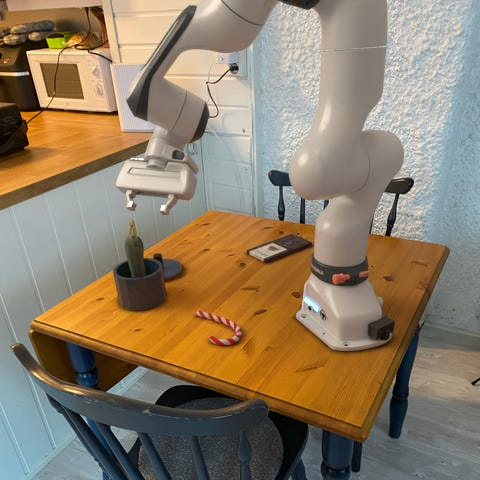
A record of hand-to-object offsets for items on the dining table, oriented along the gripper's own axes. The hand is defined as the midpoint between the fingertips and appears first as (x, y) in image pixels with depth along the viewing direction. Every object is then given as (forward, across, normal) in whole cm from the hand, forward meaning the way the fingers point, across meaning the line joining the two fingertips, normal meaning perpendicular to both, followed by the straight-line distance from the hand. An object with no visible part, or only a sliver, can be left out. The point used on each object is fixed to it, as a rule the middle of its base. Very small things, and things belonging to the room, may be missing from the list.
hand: (146, 211), depth 111 cm
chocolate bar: (-8, +23, +37) cm, 44 cm away
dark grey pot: (+19, 0, +9) cm, 21 cm away
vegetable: (+19, 0, +9) cm, 21 cm away
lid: (+9, -4, +19) cm, 21 cm away
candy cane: (+24, +23, +5) cm, 33 cm away
